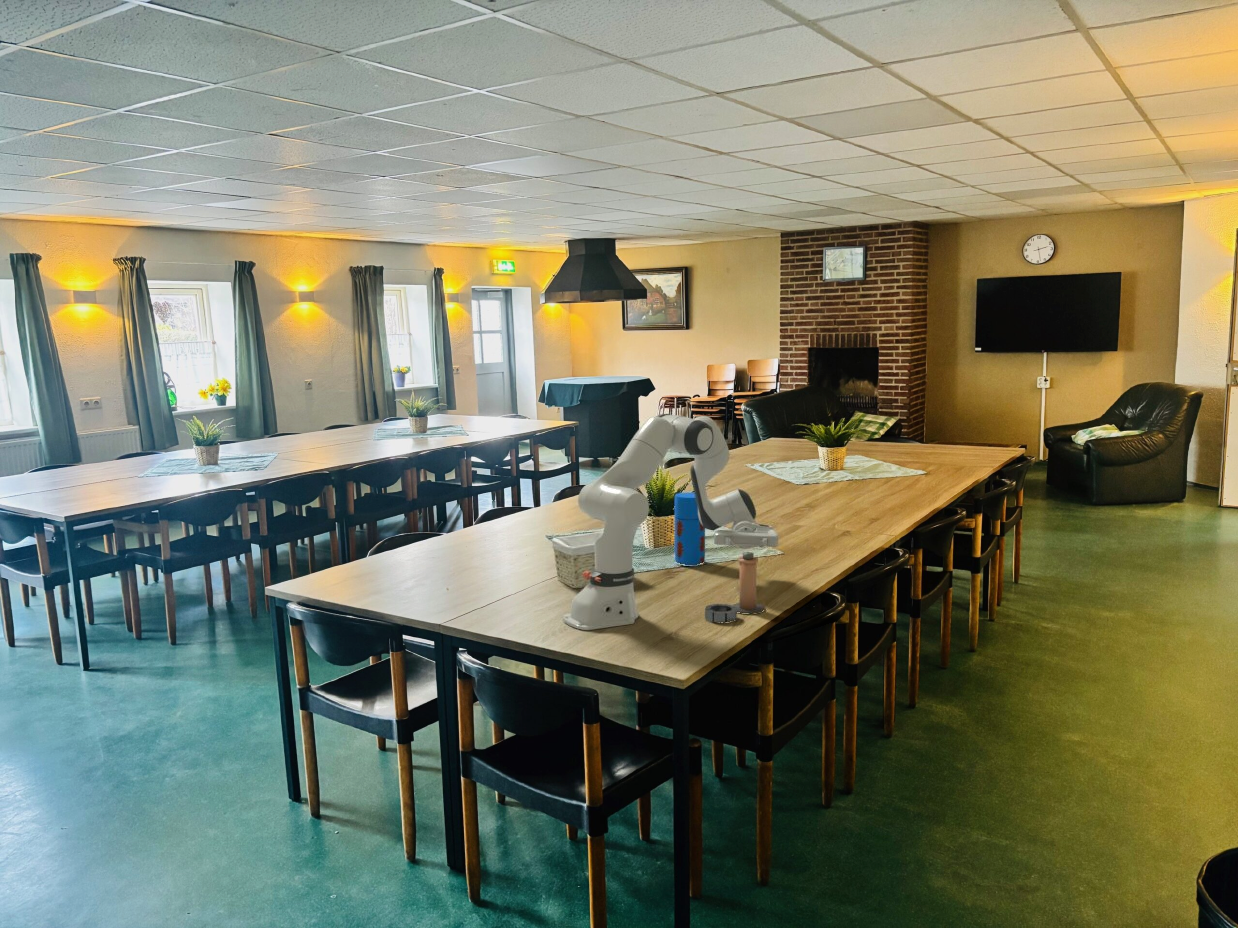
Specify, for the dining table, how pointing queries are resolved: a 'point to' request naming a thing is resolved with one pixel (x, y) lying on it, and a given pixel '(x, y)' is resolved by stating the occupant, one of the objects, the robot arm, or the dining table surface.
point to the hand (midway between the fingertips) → (746, 543)
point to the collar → (720, 613)
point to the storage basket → (575, 557)
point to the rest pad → (758, 609)
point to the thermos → (688, 531)
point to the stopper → (747, 581)
